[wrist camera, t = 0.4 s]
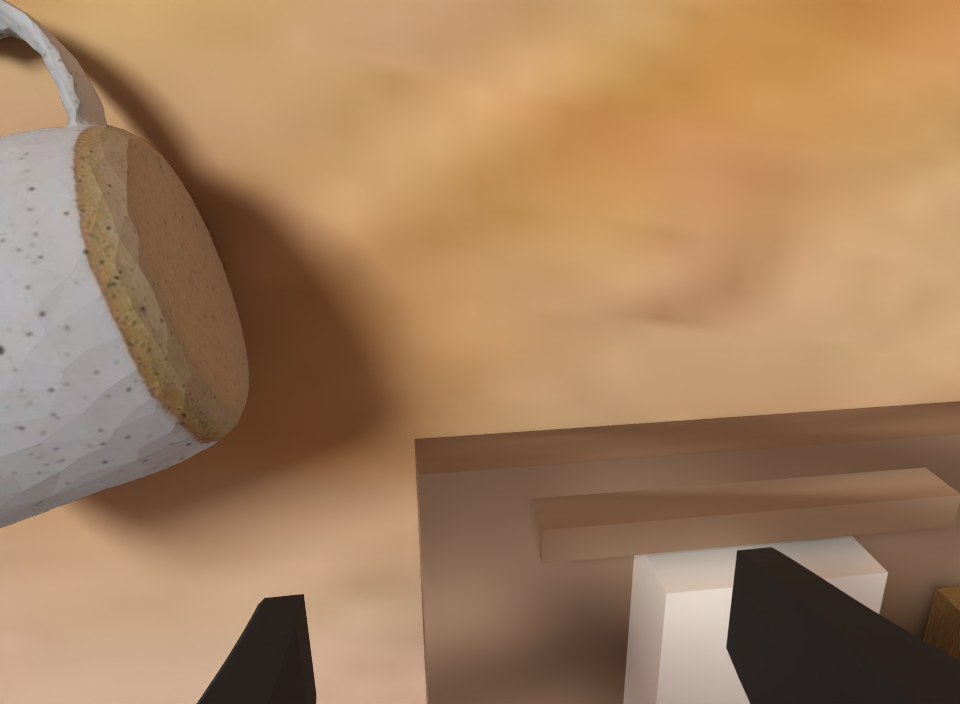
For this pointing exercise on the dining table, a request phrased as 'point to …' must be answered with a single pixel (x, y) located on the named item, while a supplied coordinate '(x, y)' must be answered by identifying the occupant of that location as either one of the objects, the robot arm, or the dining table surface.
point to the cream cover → (716, 615)
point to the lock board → (657, 530)
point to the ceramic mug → (103, 306)
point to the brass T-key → (945, 621)
